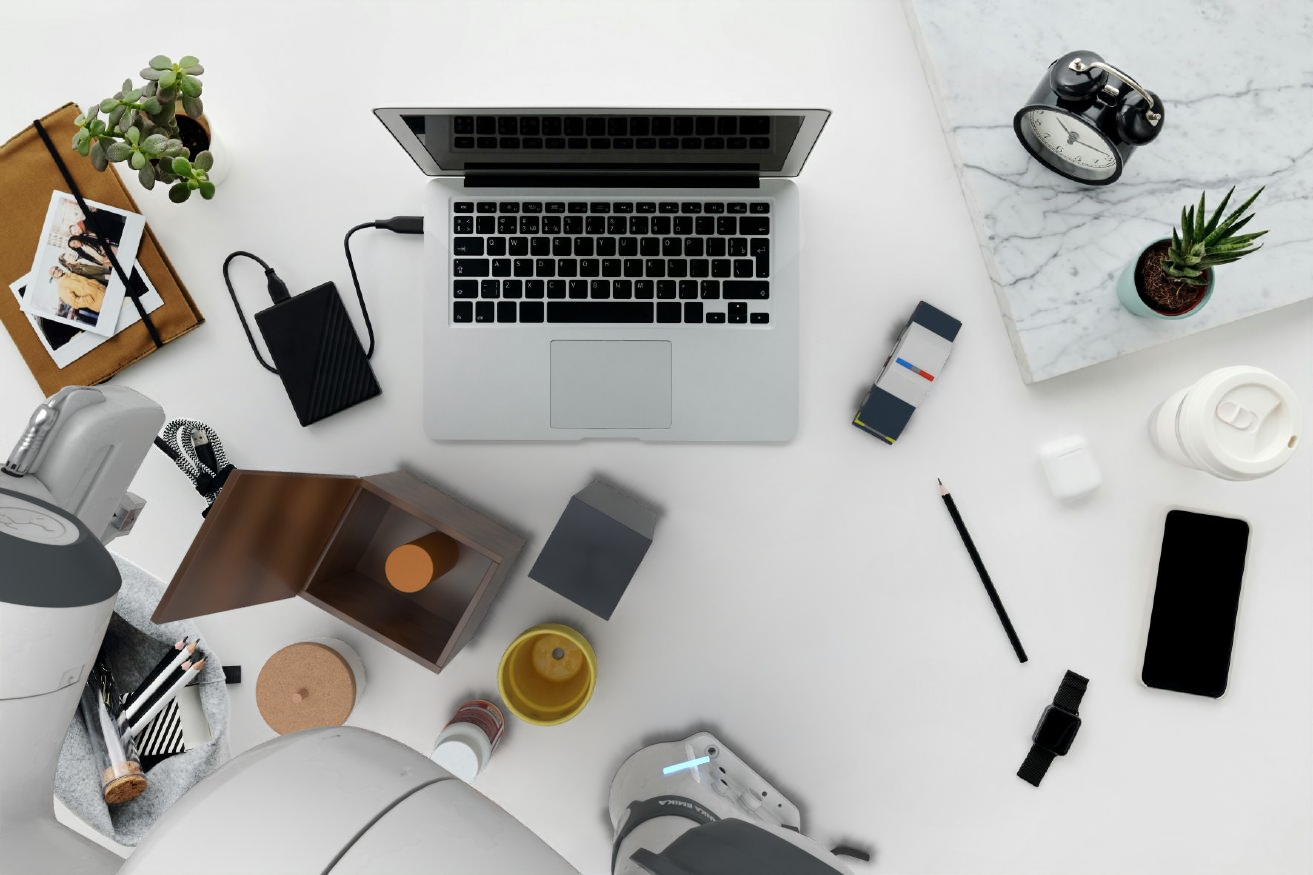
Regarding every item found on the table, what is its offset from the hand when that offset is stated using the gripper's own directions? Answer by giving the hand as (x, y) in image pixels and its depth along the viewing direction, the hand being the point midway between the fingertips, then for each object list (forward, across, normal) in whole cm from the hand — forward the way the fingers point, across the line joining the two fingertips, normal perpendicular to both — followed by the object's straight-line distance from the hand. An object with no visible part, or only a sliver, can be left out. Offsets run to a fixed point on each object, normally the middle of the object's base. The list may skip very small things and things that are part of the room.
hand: (130, 512), depth 60 cm
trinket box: (+32, +18, +13) cm, 39 cm away
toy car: (+32, -45, +54) cm, 77 cm away
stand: (+32, -13, +33) cm, 47 cm away
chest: (+32, 0, +17) cm, 36 cm away
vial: (+31, 0, +17) cm, 35 cm away
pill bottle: (+32, +15, +31) cm, 47 cm away
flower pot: (+32, +3, +35) cm, 47 cm away
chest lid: (+9, 0, +7) cm, 12 cm away
